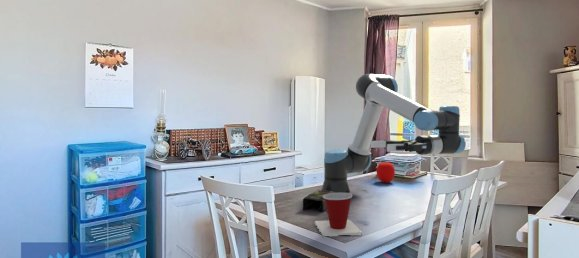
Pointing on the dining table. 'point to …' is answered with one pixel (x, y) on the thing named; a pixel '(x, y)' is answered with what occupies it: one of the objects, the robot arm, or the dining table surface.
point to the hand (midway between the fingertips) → (378, 146)
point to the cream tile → (328, 231)
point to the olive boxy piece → (316, 199)
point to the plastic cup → (337, 209)
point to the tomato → (385, 172)
